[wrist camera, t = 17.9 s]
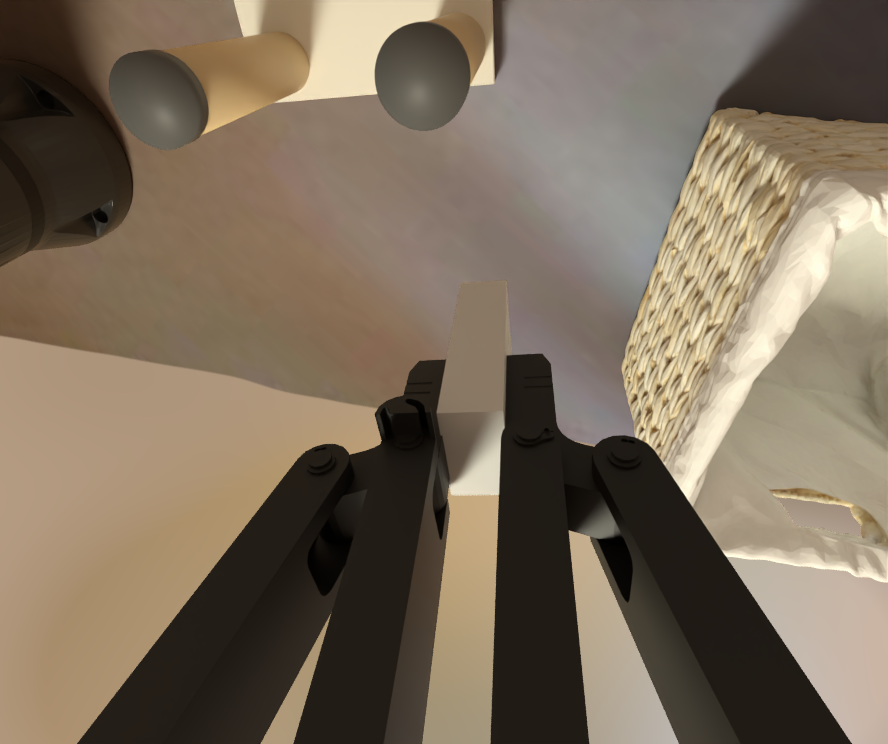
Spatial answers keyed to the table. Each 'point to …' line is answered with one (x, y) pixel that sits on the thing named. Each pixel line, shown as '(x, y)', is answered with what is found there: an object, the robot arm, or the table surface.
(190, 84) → the stool seat
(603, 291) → the table surface
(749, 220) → the basket
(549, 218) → the table surface
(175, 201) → the table surface
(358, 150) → the table surface
